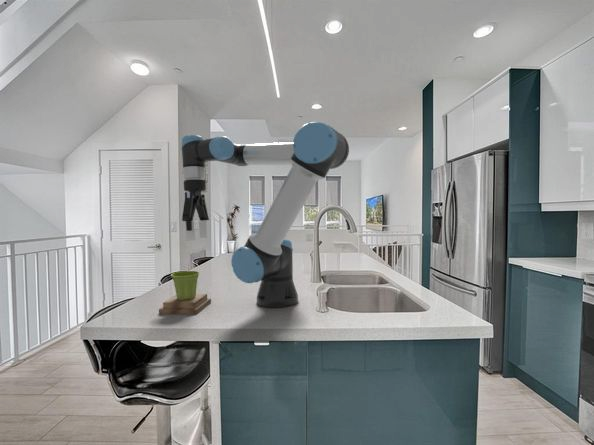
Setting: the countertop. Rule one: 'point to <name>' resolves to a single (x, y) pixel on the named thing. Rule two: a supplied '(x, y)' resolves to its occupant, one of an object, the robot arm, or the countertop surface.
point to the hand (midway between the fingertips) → (197, 239)
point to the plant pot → (185, 284)
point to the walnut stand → (185, 305)
